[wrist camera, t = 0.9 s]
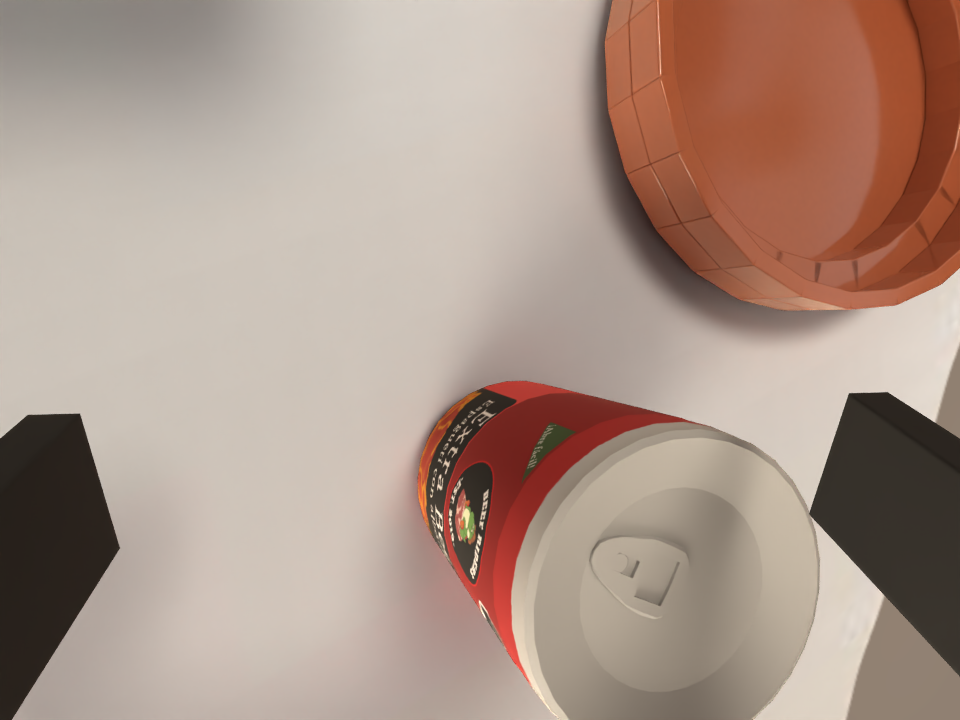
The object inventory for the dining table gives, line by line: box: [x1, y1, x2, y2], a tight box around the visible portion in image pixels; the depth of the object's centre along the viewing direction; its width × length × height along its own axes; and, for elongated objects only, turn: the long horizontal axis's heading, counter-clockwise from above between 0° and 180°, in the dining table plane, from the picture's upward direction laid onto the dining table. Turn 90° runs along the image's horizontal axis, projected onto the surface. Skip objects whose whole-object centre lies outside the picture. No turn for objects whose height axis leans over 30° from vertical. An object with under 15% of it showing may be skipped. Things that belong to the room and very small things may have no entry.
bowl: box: [605, 0, 960, 311], centre depth 25 cm, size 19×19×4 cm
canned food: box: [418, 381, 820, 720], centre depth 18 cm, size 8×8×11 cm
